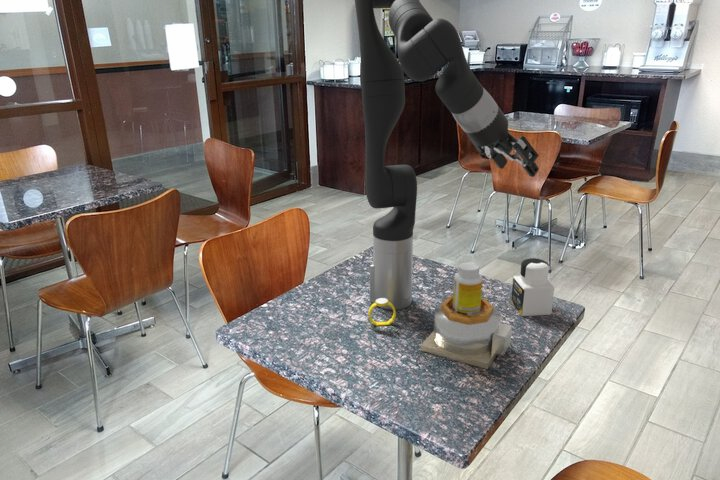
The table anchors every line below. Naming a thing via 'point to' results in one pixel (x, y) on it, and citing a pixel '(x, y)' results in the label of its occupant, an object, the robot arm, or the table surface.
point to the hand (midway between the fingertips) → (518, 169)
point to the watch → (382, 303)
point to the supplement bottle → (467, 290)
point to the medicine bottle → (533, 289)
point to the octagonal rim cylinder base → (468, 335)
